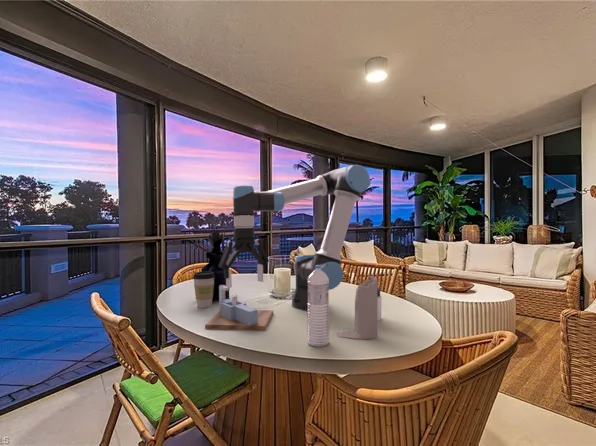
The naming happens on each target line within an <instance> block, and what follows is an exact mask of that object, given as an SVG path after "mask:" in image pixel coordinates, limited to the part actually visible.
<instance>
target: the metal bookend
mask: <svg viewBox="0 0 596 446" xmlns="http://www.w3.org/2000/svg"><path fill="white" fill-rule="evenodd" d="M377 288H378V278H377V277H375V276H373V275H370V276H369V279H365V280H364V282H363V283H359V284H358V286H357V287H356V290H355V297H354V330H343V331H341V332H336V333H335V334H336V336H337V337H338V338H346V339H350V340H351V339H352V340H353V339H354V340H373V339H376V338H377V337H378V321H377V308H378V301H377Z"/></svg>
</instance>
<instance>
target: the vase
mask: <svg viewBox="0 0 596 446" xmlns="http://www.w3.org/2000/svg"><path fill="white" fill-rule="evenodd" d="M211 229H212V231H213V232H211V233H209V235H207V240H208V243H209V244H210V246H211V247H210V249H209V250H211V251H210V252H205V254H206V258H205V259H208V263H207V264H206V265H204V266H203V267H201V272H204V271H210V272H214V275H215V278H214V289H213V298H212V303H215V302H219V286H220V285H225V286H226V278H224V269H223V268H220V267H219V263H220V261H221V258H222V256H223V253H224V251H225V250H223V249H222V247H221V245H222V243H223V242H224V241H225V238H226V232H225V231H223V232H221V233H220V232H219V231H216V230H218V227H216V228H215V229H216V230H215V229H214V228H213V227H211ZM228 259H229V258H228ZM225 299H229V300H230V290H228V291H225Z"/></svg>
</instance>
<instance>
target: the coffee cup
mask: <svg viewBox="0 0 596 446" xmlns="http://www.w3.org/2000/svg"><path fill="white" fill-rule="evenodd" d="M214 278H215V275H214V272H210V271H204V272H202V271H197V272H194V274H193V275H192V279H193V283H194V284H193V286H194V291H195V292H194V294H195V300H196V307H197V308H198V309H205V308H210V307H212V305H213V304H212V303H213V302H212V298H213V289H214Z"/></svg>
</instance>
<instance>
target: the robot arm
mask: <svg viewBox="0 0 596 446" xmlns="http://www.w3.org/2000/svg"><path fill="white" fill-rule="evenodd" d="M370 181H371V177H370V174H369V173H368V170H367V169H366V168H365V167H364V166H363V165H360V164H350V165H348V166H347V165H346V166H344V167H340V168H339V167H338V168H336V169H333V170H331V171H328V172H326V173H323V174H320V175H318V176H316V178H314V179H310V180H309V179H308V180H305V181H302V182H298V183H293V184H289V185H286V186H282V187H277V188H274V189H270V190H266V191H256V190H255V189H254V186H253V185H243V184H242V185H235V186H234V187H233V191H232V193H233V196H232V203H233V227H235V228H233V238H234V241H229V240H227V241H226V243H225V250H223V251H224V253H223V256H222V258H221V261H220V263H219V267H220V268H223V269H224V278H226V287H229V288H230V289H231V288H233V287H232V286H233V285H232V284H233V283H232V281H233V280H232V268H231V267H232V265H233V264H234V262H235V260H236V259H237V258H238V256H239V255H241V253H242V254H243V253H250V254H251V255H252V256H253V257H254V259H256V261H257V262H258V263H257V266H256V267H257V282H259V283H260V282H261V283H262V282H263V283H264V273H265V265H266V264H267V263H269V261H270V260H269V257H268V255H267V253H266V251H265V249H264V246H263V243H262V239H259V238H256V239H255V227H254V226H255V213H258V212H279V211H280V212H281V211H282V210H283V209H284V208H285V205H287V204H292V203H294V202H299V201H301V200H302V201H303V200H305V199H309V198H313V197H316V196H322V197H324V196H325V197H326V196H329V195H334V196H335V198H334V202H333V206H332V207H331V212H330V216H329V219H328V222H327V226H326V229H325V232H324V235H323V239H322V242H321V245H320V249H319V250H317V251H316V252H315V253H314V254H301V255H297V256H296V257H295V263H294V264H295V289H294V293H293V296H292V300H291V306H292V307H293V308H296V309H300V310H308V283H307V281H308V280H307V279H308V277H309V275H310V274H311V273H312V272H313V271H315V270H316V269H315V265H321V270H322V271H323V272H324V273H325V274H326V275H327V276H328V278H329V284H328V288H329V291H330V290H334V289H335V288H337V287H338V286H339V285H340V284H341V283H342V281H343V278H344V271H343V267H342V262H343V260H342V258H341V252H342V249H343V245H344V242H345V239H346V236H347V235H346V234H347V231H348V229H349V225H350V221H351V218H352V214H353V211H354V208H355V204H356V203H357V202H358V201H359V200H360V198H361V196H362V193H363V192H365V191H366V190H367V189H368V188H369V187H370V183H371V182H370ZM254 246H255V247H256V248H255V247H254ZM233 247H234V249H233ZM256 249H257V250H256ZM232 250H233V251H232ZM231 252H232V253H231ZM228 258H229V259H228Z"/></svg>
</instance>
